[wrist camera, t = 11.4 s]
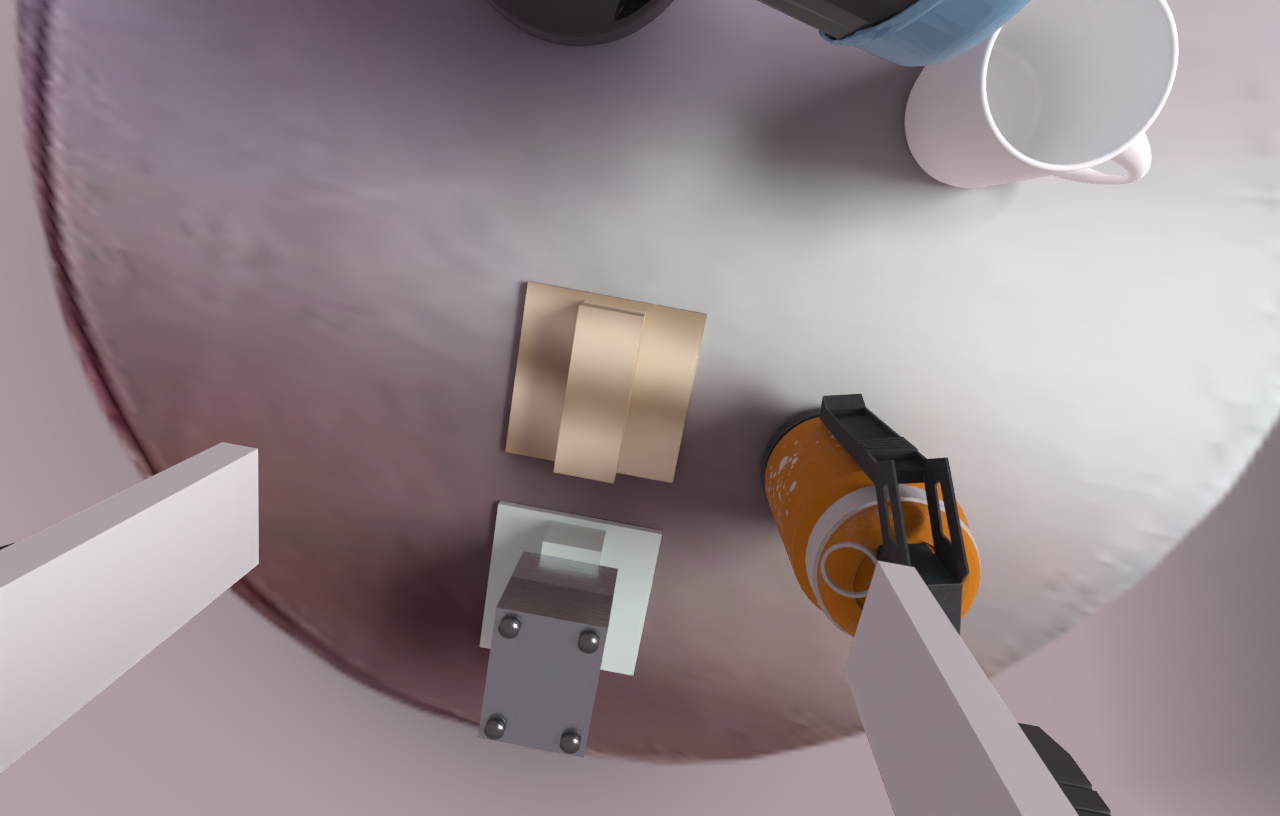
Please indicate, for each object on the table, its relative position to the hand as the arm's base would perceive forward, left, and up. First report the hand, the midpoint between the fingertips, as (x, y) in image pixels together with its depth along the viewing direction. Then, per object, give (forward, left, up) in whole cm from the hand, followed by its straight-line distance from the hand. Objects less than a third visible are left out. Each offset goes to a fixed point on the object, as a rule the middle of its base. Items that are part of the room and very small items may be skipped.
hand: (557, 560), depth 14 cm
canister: (+5, +14, -31) cm, 35 cm away
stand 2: (+19, -2, -31) cm, 37 cm away
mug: (-17, +19, -31) cm, 40 cm away
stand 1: (+3, -2, -31) cm, 31 cm away
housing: (+19, -2, -27) cm, 33 cm away
